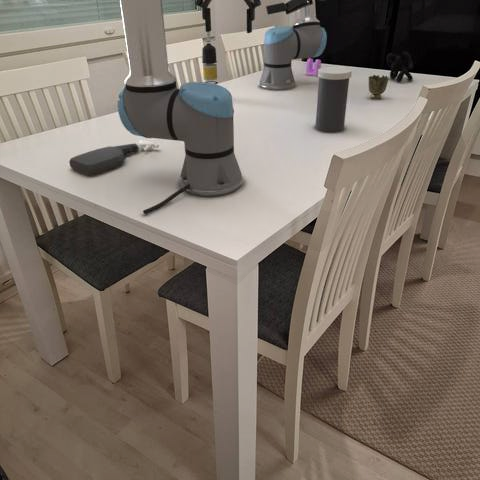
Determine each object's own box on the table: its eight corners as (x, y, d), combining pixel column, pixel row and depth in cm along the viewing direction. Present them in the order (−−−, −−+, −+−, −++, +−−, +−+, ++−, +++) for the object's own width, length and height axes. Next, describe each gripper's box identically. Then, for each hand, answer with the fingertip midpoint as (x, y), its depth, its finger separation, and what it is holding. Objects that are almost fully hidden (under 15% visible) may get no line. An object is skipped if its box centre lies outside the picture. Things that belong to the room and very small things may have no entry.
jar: (318, 133, 141) (323, 75, 132) (312, 124, 149) (316, 68, 139) (347, 132, 142) (353, 74, 132) (339, 123, 149) (345, 68, 140)
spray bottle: (67, 168, 120) (139, 144, 136) (91, 178, 114) (163, 151, 130) (65, 157, 118) (137, 134, 134) (89, 167, 112) (162, 142, 128)
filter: (220, 99, 177) (217, 15, 161) (206, 100, 176) (202, 16, 160) (215, 96, 182) (212, 14, 166) (202, 97, 180) (197, 14, 164)
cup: (363, 99, 174) (366, 77, 170) (368, 94, 179) (371, 73, 175) (383, 101, 171) (386, 79, 167) (387, 96, 176) (390, 75, 172)
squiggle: (400, 92, 202) (376, 71, 205) (417, 76, 202) (392, 56, 205) (405, 81, 191) (380, 59, 194) (423, 64, 191) (397, 42, 194)
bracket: (316, 75, 210) (317, 60, 207) (306, 74, 213) (306, 59, 209) (329, 71, 219) (330, 55, 215) (319, 69, 222) (320, 54, 218)
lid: (321, 80, 132) (322, 74, 131) (314, 73, 141) (314, 67, 140) (355, 79, 132) (355, 73, 132) (346, 72, 141) (346, 66, 140)
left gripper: (272, -51, 127) (270, 31, 138) (192, -49, 134) (197, 29, 145) (264, -51, 121) (263, 34, 132) (181, -49, 128) (187, 32, 139)
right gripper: (343, -27, 139) (277, -14, 137) (323, 17, 164) (267, 29, 162) (337, -50, 139) (271, -37, 137) (318, -3, 164) (262, 9, 162)
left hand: (228, 32), depth 139 cm, fingers open, 13 cm apart
